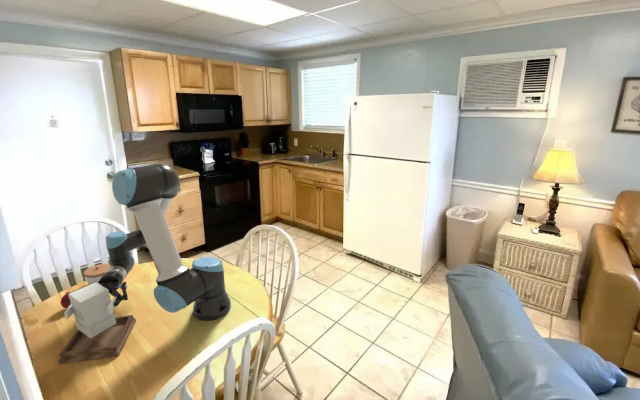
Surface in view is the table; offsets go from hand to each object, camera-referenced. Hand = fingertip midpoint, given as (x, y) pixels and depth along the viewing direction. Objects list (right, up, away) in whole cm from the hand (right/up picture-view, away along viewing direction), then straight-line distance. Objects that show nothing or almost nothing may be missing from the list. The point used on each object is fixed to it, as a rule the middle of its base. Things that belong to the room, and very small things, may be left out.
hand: (87, 313), depth 106 cm
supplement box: (-1, -7, +6) cm, 9 cm away
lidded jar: (-25, -1, +42) cm, 50 cm away
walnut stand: (-1, -13, +8) cm, 15 cm away
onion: (-25, -7, +25) cm, 36 cm away
